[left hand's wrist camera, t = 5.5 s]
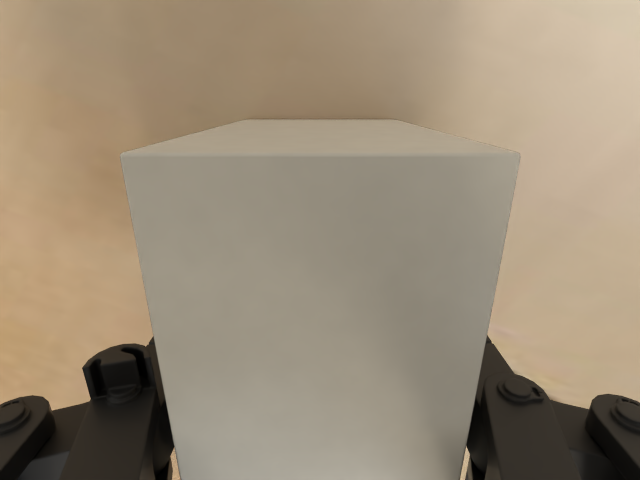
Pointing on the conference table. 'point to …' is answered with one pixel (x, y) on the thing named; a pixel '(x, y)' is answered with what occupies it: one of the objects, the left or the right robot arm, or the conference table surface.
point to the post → (320, 293)
